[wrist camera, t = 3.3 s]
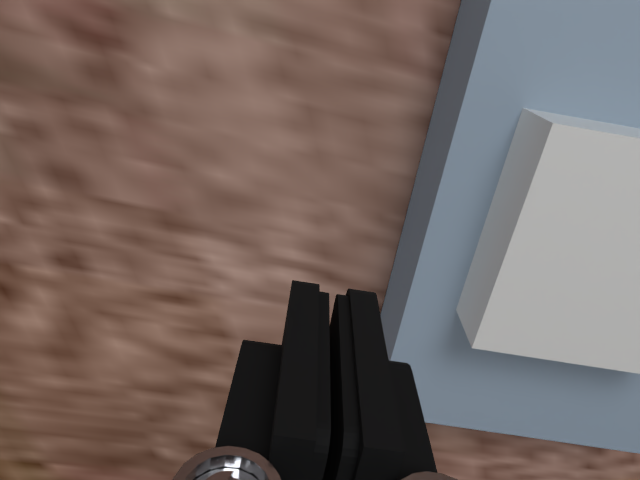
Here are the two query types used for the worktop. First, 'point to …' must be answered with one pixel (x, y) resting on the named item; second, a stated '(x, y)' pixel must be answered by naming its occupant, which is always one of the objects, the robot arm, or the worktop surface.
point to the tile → (561, 247)
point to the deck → (473, 205)
